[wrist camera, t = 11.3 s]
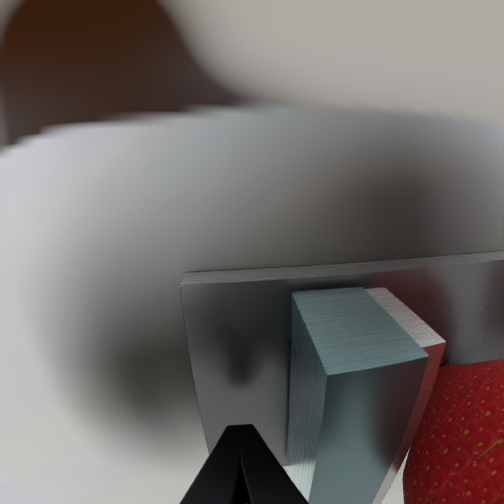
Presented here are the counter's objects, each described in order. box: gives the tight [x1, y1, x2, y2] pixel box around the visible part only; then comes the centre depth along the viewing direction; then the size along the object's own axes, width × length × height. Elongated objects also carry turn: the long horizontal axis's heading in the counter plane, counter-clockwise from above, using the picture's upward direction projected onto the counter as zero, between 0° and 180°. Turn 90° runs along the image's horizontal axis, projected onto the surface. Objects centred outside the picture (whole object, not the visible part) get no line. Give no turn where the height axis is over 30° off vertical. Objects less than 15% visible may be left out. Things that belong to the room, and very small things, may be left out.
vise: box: [179, 251, 504, 466], centre depth 8 cm, size 16×8×5 cm, turn 92°
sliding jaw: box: [286, 286, 446, 504], centre depth 7 cm, size 2×8×4 cm, turn 2°
